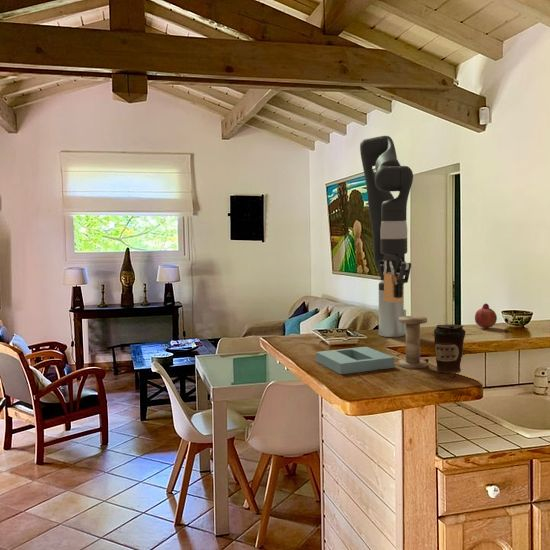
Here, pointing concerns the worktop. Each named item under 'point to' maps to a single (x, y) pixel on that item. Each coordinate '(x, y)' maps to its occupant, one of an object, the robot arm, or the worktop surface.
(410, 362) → the bobbin
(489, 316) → the fruit
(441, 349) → the coffee cup
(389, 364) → the board
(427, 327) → the worktop surface
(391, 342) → the worktop surface
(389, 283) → the orange rectangular block
